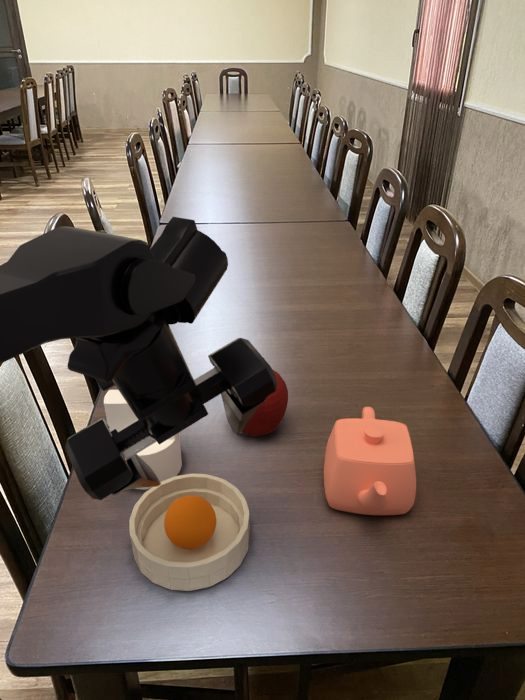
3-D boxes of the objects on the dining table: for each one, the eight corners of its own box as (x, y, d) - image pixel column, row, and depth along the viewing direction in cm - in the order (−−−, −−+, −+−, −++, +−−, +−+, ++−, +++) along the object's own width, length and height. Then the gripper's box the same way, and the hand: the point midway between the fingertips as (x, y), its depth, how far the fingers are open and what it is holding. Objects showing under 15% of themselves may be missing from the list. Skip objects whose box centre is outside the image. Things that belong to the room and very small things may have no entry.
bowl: (189, 618, 56) (187, 591, 54) (110, 547, 63) (104, 521, 61) (272, 536, 65) (272, 510, 62) (194, 483, 72) (192, 458, 70)
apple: (225, 450, 78) (223, 394, 73) (224, 410, 86) (222, 357, 81) (290, 447, 79) (293, 391, 73) (283, 407, 87) (284, 354, 81)
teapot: (401, 451, 78) (412, 393, 72) (421, 556, 63) (437, 492, 57) (322, 446, 79) (327, 388, 73) (322, 548, 63) (328, 484, 58)
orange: (191, 570, 60) (187, 534, 57) (156, 541, 64) (150, 506, 60) (227, 536, 64) (226, 501, 61) (192, 511, 67) (189, 476, 64)
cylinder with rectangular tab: (109, 489, 71) (95, 418, 65) (123, 444, 79) (112, 376, 73) (177, 489, 71) (170, 418, 65) (185, 443, 79) (179, 376, 73)
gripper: (202, 258, 49) (236, 360, 61) (10, 361, 45) (87, 449, 57) (266, 330, 42) (290, 428, 55) (48, 458, 38) (126, 534, 50)
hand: (197, 456), depth 54 cm, fingers open, 9 cm apart
